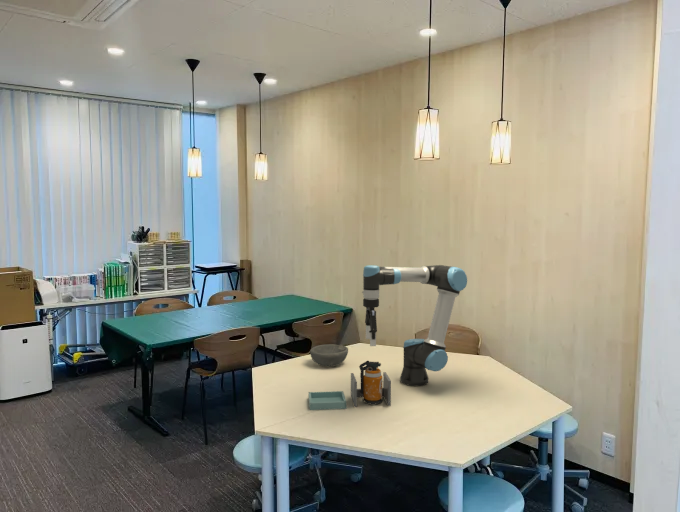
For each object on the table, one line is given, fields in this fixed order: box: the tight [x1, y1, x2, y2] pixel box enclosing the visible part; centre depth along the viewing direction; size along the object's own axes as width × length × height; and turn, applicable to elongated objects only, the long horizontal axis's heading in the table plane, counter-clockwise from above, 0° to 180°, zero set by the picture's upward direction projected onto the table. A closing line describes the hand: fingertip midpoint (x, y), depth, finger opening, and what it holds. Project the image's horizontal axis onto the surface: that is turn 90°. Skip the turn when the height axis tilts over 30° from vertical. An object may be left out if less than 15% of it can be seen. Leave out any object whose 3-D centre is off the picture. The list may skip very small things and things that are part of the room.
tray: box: [308, 390, 348, 411], centre depth 253 cm, size 17×15×3 cm
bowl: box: [309, 343, 349, 367], centre depth 316 cm, size 23×22×10 cm
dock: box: [350, 371, 392, 408], centre depth 256 cm, size 17×14×12 cm
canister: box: [358, 360, 383, 405], centre depth 254 cm, size 9×11×20 cm
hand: (370, 342), depth 253 cm, fingers open, 13 cm apart
